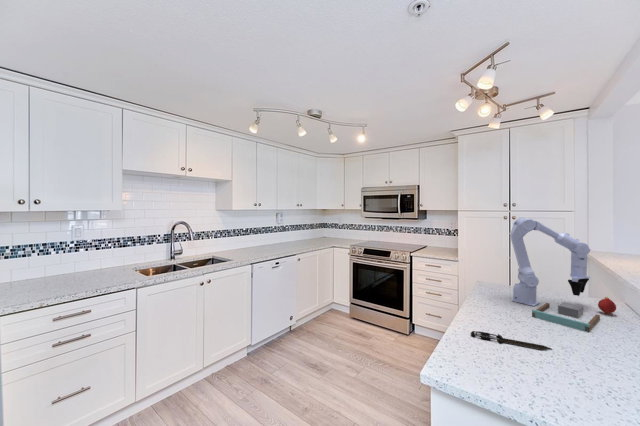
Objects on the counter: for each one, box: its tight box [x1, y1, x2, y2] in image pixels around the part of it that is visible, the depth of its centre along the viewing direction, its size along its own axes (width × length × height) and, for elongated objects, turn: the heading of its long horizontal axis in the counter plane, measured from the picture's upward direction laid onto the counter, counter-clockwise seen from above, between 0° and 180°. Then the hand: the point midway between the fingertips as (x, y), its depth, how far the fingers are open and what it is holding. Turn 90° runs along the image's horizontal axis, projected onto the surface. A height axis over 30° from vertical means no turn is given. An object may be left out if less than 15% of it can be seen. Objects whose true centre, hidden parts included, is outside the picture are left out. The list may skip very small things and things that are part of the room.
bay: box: [531, 302, 601, 333], centre depth 122 cm, size 19×20×3 cm
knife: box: [470, 330, 554, 351], centre depth 101 cm, size 25×6×1 cm, turn 57°
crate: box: [557, 301, 584, 319], centre depth 127 cm, size 7×8×4 cm
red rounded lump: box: [597, 296, 617, 315], centre depth 126 cm, size 6×6×8 cm
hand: (578, 293), depth 134 cm, fingers open, 7 cm apart
